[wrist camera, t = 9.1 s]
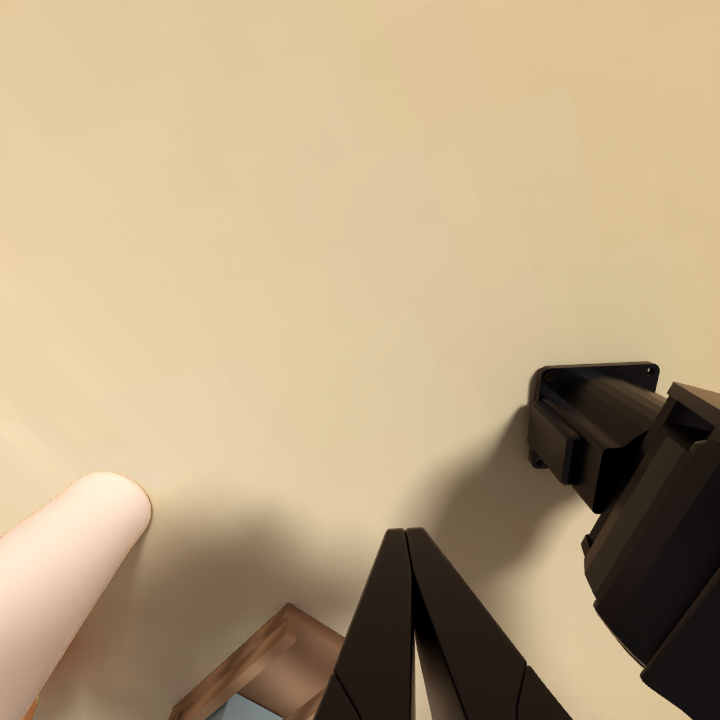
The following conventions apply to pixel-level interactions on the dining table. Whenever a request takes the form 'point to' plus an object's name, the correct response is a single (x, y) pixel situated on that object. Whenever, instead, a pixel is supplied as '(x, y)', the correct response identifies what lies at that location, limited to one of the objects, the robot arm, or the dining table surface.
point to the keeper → (242, 710)
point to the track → (272, 670)
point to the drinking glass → (60, 576)
